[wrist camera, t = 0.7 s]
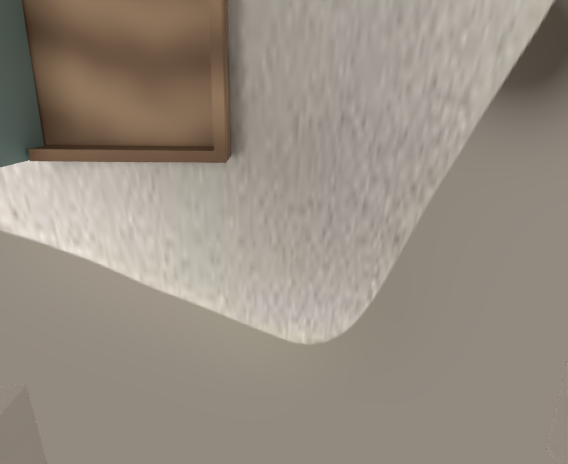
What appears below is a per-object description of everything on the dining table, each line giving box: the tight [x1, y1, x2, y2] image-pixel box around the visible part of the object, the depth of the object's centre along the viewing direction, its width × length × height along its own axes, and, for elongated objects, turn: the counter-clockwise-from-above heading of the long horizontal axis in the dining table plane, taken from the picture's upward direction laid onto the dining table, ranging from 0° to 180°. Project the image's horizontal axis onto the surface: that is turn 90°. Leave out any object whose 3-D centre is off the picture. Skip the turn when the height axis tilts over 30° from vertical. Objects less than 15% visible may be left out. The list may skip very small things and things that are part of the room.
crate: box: [22, 0, 231, 163], centre depth 29 cm, size 15×15×4 cm
